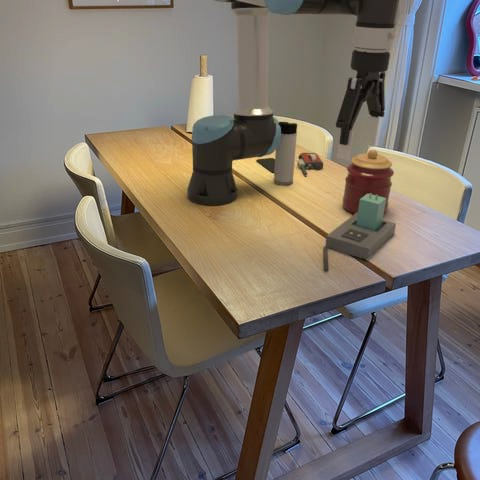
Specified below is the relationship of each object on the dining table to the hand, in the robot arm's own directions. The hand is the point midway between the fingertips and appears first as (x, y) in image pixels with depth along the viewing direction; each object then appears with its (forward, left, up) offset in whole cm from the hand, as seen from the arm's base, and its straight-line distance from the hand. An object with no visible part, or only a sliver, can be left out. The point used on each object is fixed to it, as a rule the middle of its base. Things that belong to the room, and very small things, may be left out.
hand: (356, 151), depth 109 cm
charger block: (+11, +5, -25) cm, 28 cm away
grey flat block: (+7, +3, -25) cm, 26 cm away
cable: (-7, -3, -25) cm, 26 cm away
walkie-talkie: (+23, +58, -25) cm, 67 cm away
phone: (+11, +63, -25) cm, 69 cm away
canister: (+20, +20, -25) cm, 38 cm away
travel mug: (+7, +47, -25) cm, 54 cm away
